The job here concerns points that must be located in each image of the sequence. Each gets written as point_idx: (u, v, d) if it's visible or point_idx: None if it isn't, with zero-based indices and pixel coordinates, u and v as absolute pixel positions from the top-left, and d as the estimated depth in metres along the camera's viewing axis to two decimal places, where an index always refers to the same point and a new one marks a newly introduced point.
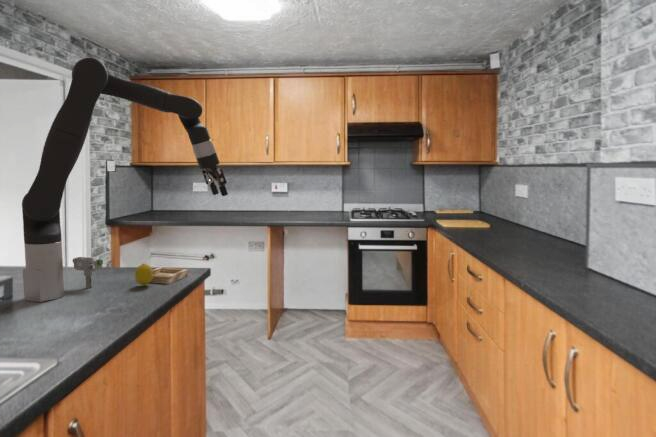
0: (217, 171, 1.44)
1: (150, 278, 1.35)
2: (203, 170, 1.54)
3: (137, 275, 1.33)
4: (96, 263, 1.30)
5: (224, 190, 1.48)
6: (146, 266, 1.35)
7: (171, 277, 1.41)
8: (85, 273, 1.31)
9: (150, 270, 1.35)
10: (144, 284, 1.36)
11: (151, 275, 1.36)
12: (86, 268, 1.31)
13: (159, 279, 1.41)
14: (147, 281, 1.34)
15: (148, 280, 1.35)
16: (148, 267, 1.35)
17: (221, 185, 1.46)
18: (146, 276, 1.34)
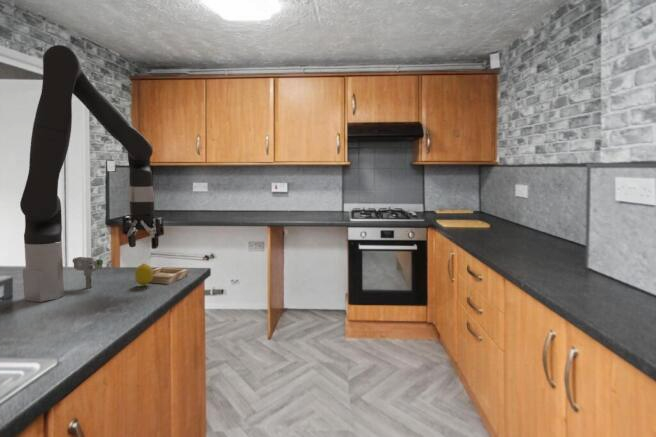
0: (159, 220, 1.32)
1: (150, 278, 1.35)
2: (125, 217, 1.34)
3: (137, 275, 1.33)
4: (96, 263, 1.30)
5: (157, 242, 1.34)
6: (146, 266, 1.35)
7: (171, 277, 1.41)
8: (85, 273, 1.31)
9: (150, 270, 1.35)
10: (144, 284, 1.36)
11: (151, 275, 1.36)
12: (86, 268, 1.31)
13: (159, 279, 1.41)
14: (147, 281, 1.34)
15: (148, 280, 1.35)
16: (148, 267, 1.35)
17: (157, 236, 1.32)
18: (146, 276, 1.34)
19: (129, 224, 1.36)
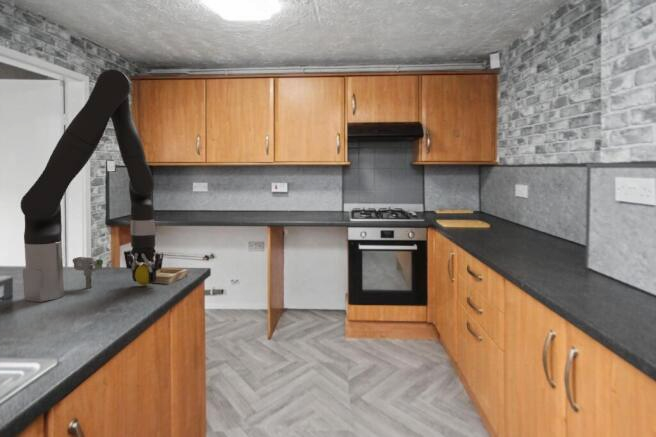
0: (159, 256, 1.33)
1: None
2: (126, 251, 1.35)
3: (137, 275, 1.33)
4: (96, 263, 1.30)
5: (154, 276, 1.35)
6: (146, 266, 1.35)
7: (171, 277, 1.41)
8: (85, 273, 1.31)
9: None
10: (144, 284, 1.36)
11: None
12: (86, 268, 1.31)
13: (159, 279, 1.41)
14: (147, 281, 1.34)
15: (148, 280, 1.35)
16: None
17: (155, 270, 1.34)
18: (146, 276, 1.34)
19: (131, 258, 1.37)
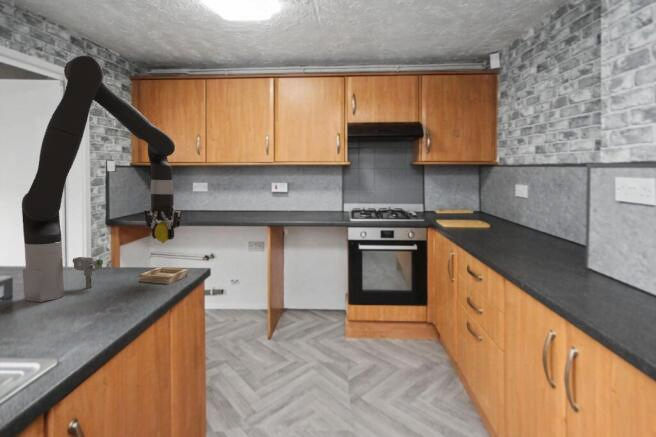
0: (178, 214, 1.42)
1: None
2: (147, 210, 1.45)
3: (157, 232, 1.43)
4: (96, 263, 1.30)
5: (173, 233, 1.44)
6: (165, 224, 1.44)
7: (171, 277, 1.41)
8: (85, 273, 1.31)
9: None
10: (163, 241, 1.45)
11: None
12: (86, 268, 1.31)
13: (159, 279, 1.41)
14: (166, 237, 1.44)
15: (167, 237, 1.44)
16: None
17: (173, 228, 1.43)
18: (165, 233, 1.43)
19: (151, 217, 1.46)
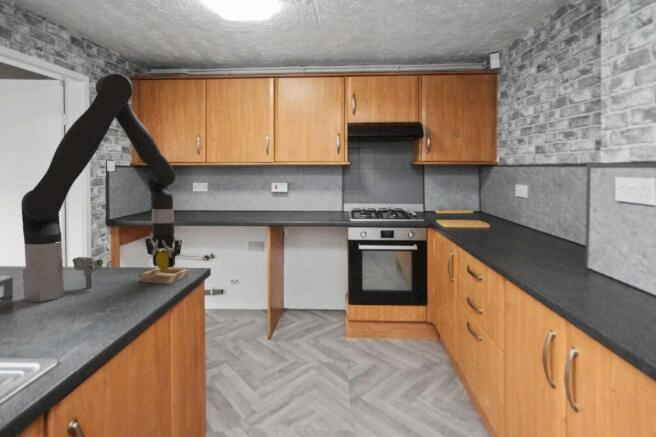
0: (178, 242, 1.43)
1: None
2: (147, 238, 1.46)
3: (158, 260, 1.44)
4: (96, 263, 1.30)
5: (173, 261, 1.45)
6: (166, 252, 1.45)
7: (171, 277, 1.41)
8: (85, 273, 1.31)
9: None
10: (164, 269, 1.46)
11: None
12: (86, 268, 1.31)
13: (159, 279, 1.41)
14: (167, 265, 1.45)
15: (168, 265, 1.45)
16: None
17: (174, 256, 1.44)
18: (166, 261, 1.44)
19: (152, 244, 1.47)
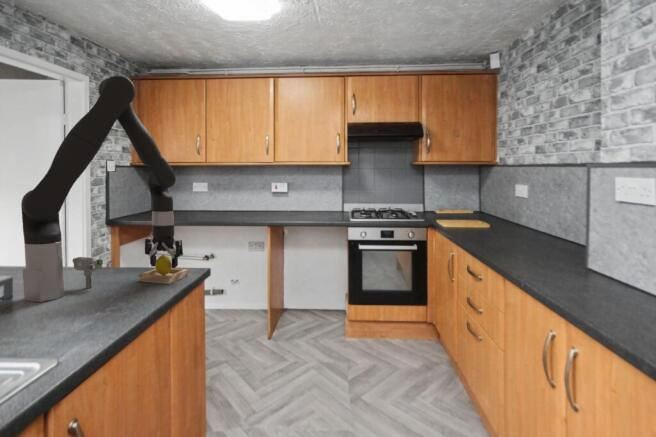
0: (179, 242, 1.43)
1: (169, 268, 1.46)
2: (148, 239, 1.46)
3: (157, 265, 1.44)
4: (96, 263, 1.30)
5: (176, 262, 1.45)
6: (165, 257, 1.45)
7: (171, 277, 1.41)
8: (85, 273, 1.31)
9: (169, 261, 1.46)
10: (164, 274, 1.46)
11: (170, 265, 1.46)
12: (86, 268, 1.31)
13: (159, 279, 1.41)
14: (166, 271, 1.45)
15: (167, 270, 1.45)
16: (167, 258, 1.46)
17: (177, 257, 1.44)
18: (166, 266, 1.44)
19: (151, 245, 1.48)
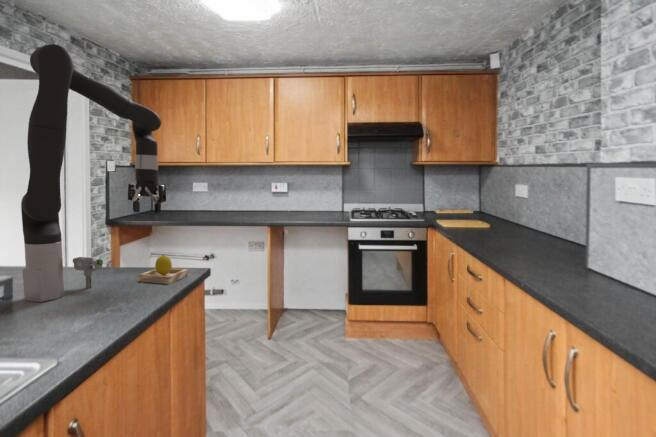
0: (162, 187, 1.41)
1: (169, 268, 1.46)
2: (131, 184, 1.43)
3: (157, 266, 1.44)
4: (96, 263, 1.30)
5: (159, 208, 1.43)
6: (165, 257, 1.45)
7: (171, 277, 1.41)
8: (85, 273, 1.31)
9: (169, 261, 1.46)
10: (164, 274, 1.46)
11: (170, 266, 1.46)
12: (86, 268, 1.31)
13: (159, 279, 1.41)
14: (166, 271, 1.45)
15: (167, 270, 1.45)
16: (167, 258, 1.46)
17: (160, 202, 1.41)
18: (166, 266, 1.44)
19: (134, 191, 1.45)
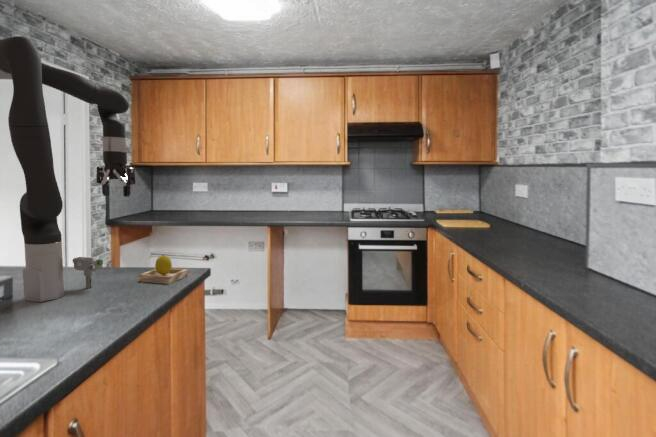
0: (130, 169, 1.40)
1: (169, 268, 1.46)
2: (99, 167, 1.43)
3: (157, 266, 1.44)
4: (96, 263, 1.30)
5: (128, 191, 1.42)
6: (165, 257, 1.45)
7: (171, 277, 1.41)
8: (85, 273, 1.31)
9: (169, 261, 1.46)
10: (164, 274, 1.46)
11: (170, 266, 1.46)
12: (86, 268, 1.31)
13: (159, 279, 1.41)
14: (166, 271, 1.45)
15: (167, 270, 1.45)
16: (167, 258, 1.46)
17: (129, 184, 1.41)
18: (166, 266, 1.44)
19: (103, 174, 1.44)
